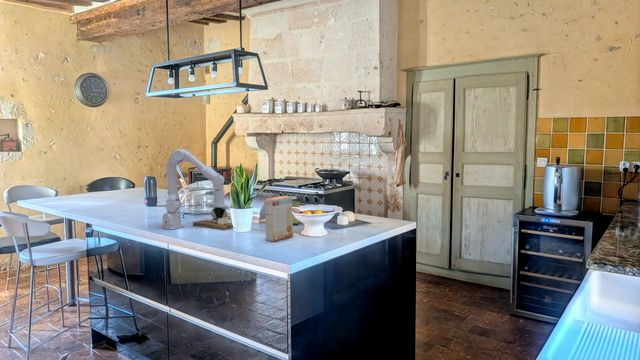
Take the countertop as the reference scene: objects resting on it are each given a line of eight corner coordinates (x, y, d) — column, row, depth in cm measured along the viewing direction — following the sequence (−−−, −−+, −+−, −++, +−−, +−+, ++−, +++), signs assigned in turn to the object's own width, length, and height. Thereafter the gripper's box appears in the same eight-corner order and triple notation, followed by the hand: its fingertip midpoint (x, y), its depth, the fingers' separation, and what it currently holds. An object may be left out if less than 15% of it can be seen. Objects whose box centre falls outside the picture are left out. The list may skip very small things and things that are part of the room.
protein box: (298, 225, 260) (298, 198, 258) (271, 225, 259) (271, 198, 258) (299, 222, 270) (299, 196, 268) (273, 222, 270) (273, 196, 268)
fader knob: (221, 224, 251) (221, 218, 251) (218, 224, 253) (217, 218, 253) (228, 223, 256) (228, 217, 255) (224, 222, 257) (224, 216, 257)
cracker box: (284, 235, 234) (284, 195, 232) (293, 237, 231) (293, 196, 229) (264, 240, 224) (264, 198, 222) (273, 242, 220) (273, 199, 218)
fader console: (223, 230, 248) (223, 226, 247) (193, 225, 260) (192, 222, 260) (236, 227, 256) (236, 223, 256) (206, 222, 269) (206, 219, 269)
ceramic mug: (217, 221, 273) (217, 208, 273) (210, 219, 279) (210, 207, 279) (233, 219, 280) (233, 207, 280) (226, 217, 286) (226, 205, 286)
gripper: (233, 197, 254) (234, 221, 255) (214, 195, 262) (215, 218, 263) (224, 198, 248) (225, 223, 249) (205, 196, 256) (206, 220, 257)
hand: (219, 221), depth 256 cm, fingers closed
